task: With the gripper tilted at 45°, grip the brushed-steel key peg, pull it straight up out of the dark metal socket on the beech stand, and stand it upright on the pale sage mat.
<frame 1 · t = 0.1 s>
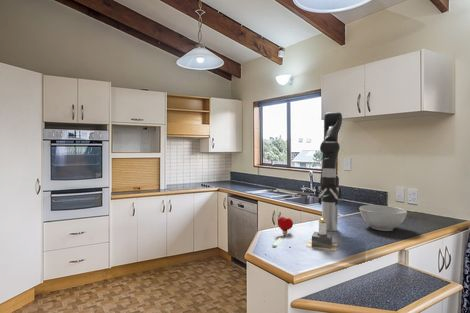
hand: (328, 205, 177), 17 cm above the table, tool pointing down, fingers open, 8 cm apart
decorative bowl: (382, 228, 194), on the table
red rounded lobed piece: (284, 235, 176), on the table
key peg: (322, 244, 155), point 1 cm above the table, touching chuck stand
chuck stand: (322, 247, 155), on the table
sage mat: (287, 244, 159), on the table
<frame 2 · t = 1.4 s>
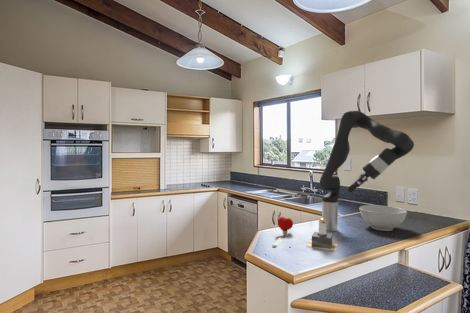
hand: (349, 190, 153), 29 cm above the table, tool tilted 45°, fingers open, 8 cm apart
nothing on the table moved.
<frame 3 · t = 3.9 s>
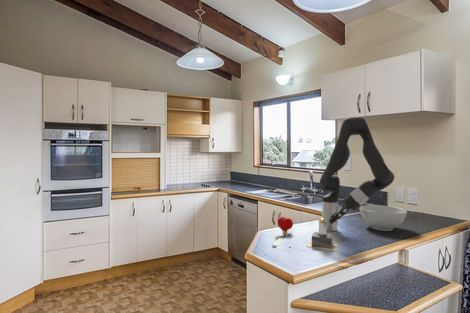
hand: (330, 220, 153), 14 cm above the table, tool tilted 45°, fingers open, 8 cm apart
nothing on the table moved.
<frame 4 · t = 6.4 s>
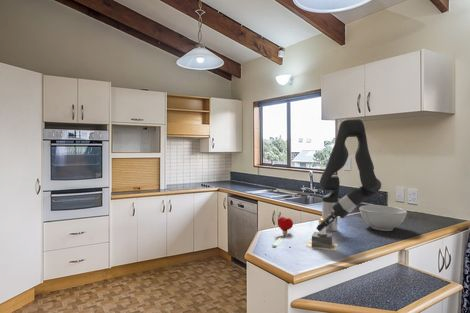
hand: (318, 228, 155), 10 cm above the table, tool tilted 45°, fingers closed on key peg, 3 cm apart
key peg: (322, 244, 155), point 2 cm above the table, touching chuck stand, gripper
everything else where it was.
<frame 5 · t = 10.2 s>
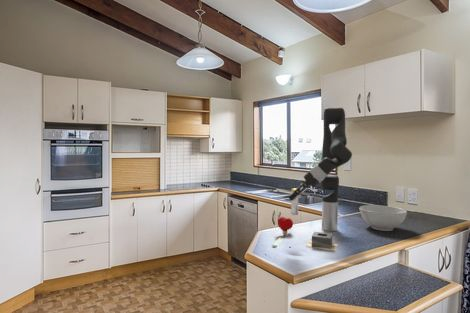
hand: (290, 198, 158), 24 cm above the table, tool tilted 45°, fingers closed on key peg, 3 cm apart
key peg: (294, 214, 158), point 16 cm above the table, touching gripper
everything else where it was.
when the fingers open (10 cm above the table, at t = 14.0 s): key peg stays where it is, resting on sage mat.
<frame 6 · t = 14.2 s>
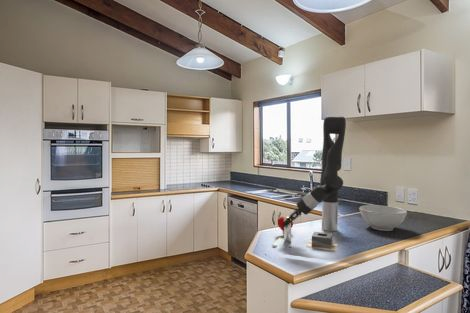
hand: (284, 224, 160), 10 cm above the table, tool tilted 45°, fingers open, 5 cm apart
key peg: (287, 242, 159), point 1 cm above the table, touching sage mat
everything else where it was.
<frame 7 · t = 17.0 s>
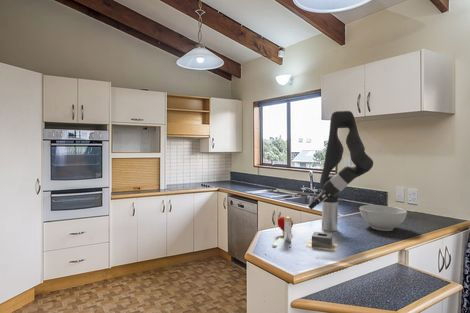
hand: (311, 206, 154), 21 cm above the table, tool tilted 45°, fingers open, 8 cm apart
nothing on the table moved.
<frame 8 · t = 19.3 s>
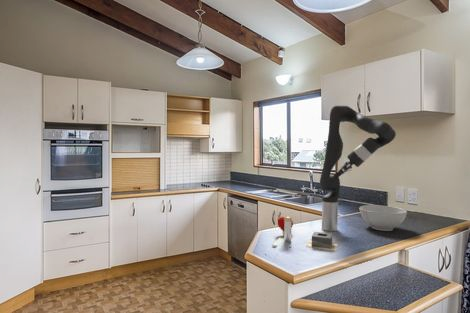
hand: (335, 177, 161), 35 cm above the table, tool tilted 45°, fingers open, 8 cm apart
nothing on the table moved.
at the end: key peg inside the target area (0.1 cm from its centre), point 1.0 cm above the table; key peg tilted 0°; the gripper is holding nothing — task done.
